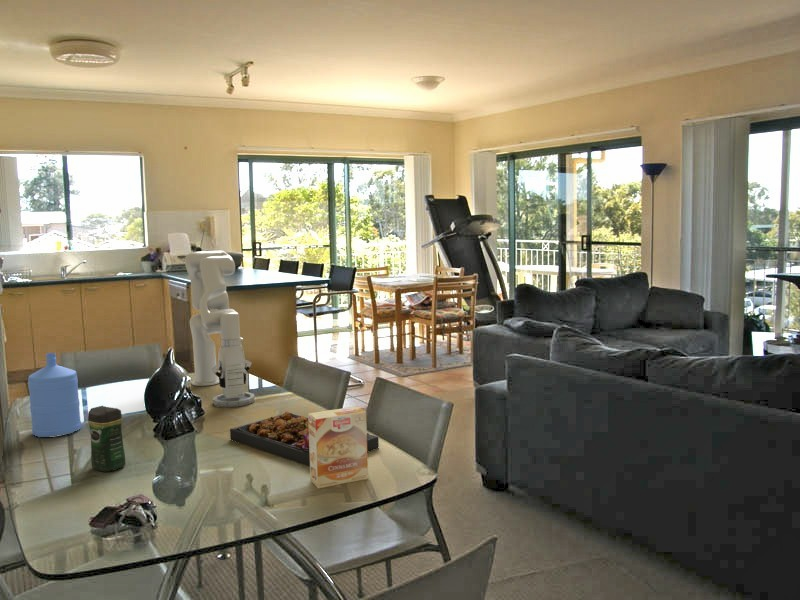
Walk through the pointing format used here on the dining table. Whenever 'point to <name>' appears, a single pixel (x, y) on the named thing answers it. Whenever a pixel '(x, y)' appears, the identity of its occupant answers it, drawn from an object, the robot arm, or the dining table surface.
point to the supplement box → (234, 382)
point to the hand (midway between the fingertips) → (233, 385)
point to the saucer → (233, 400)
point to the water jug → (54, 400)
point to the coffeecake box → (338, 446)
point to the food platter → (283, 437)
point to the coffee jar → (106, 438)
